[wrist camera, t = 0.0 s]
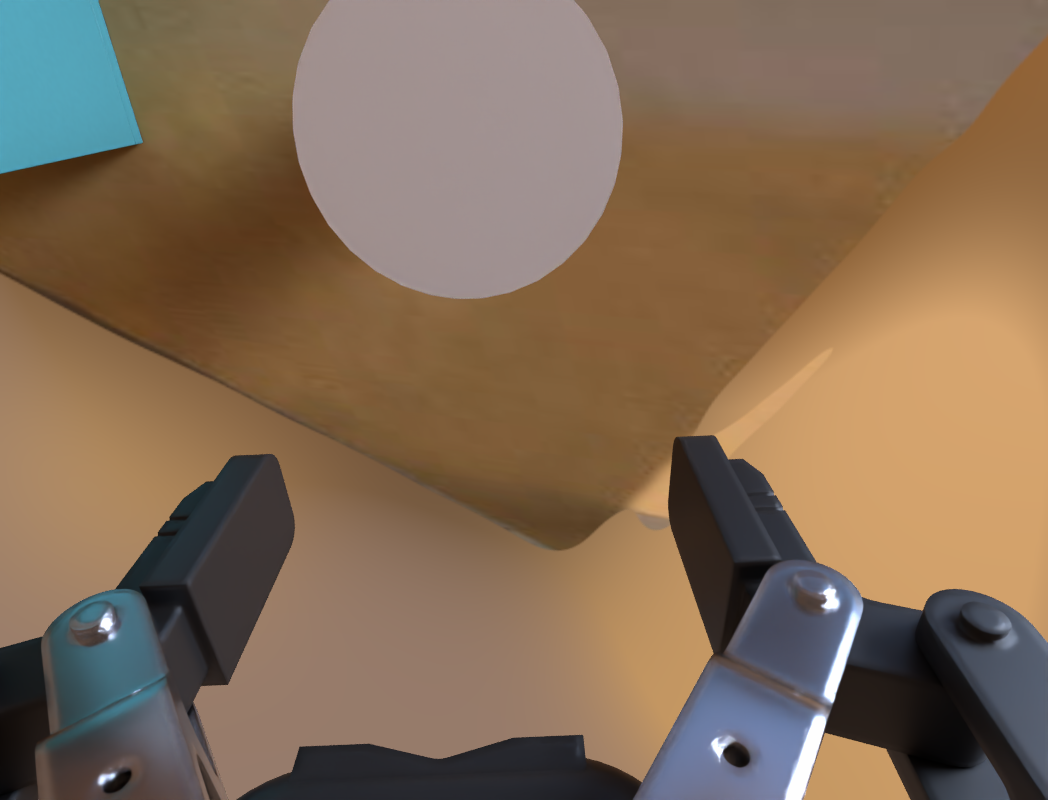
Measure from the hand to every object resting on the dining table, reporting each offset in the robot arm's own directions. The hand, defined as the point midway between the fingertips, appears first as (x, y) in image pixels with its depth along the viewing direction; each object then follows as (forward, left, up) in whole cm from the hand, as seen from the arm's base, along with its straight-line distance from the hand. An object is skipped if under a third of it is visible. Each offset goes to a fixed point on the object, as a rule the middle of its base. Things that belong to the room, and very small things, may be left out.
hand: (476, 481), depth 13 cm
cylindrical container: (-6, 0, -30) cm, 30 cm away
